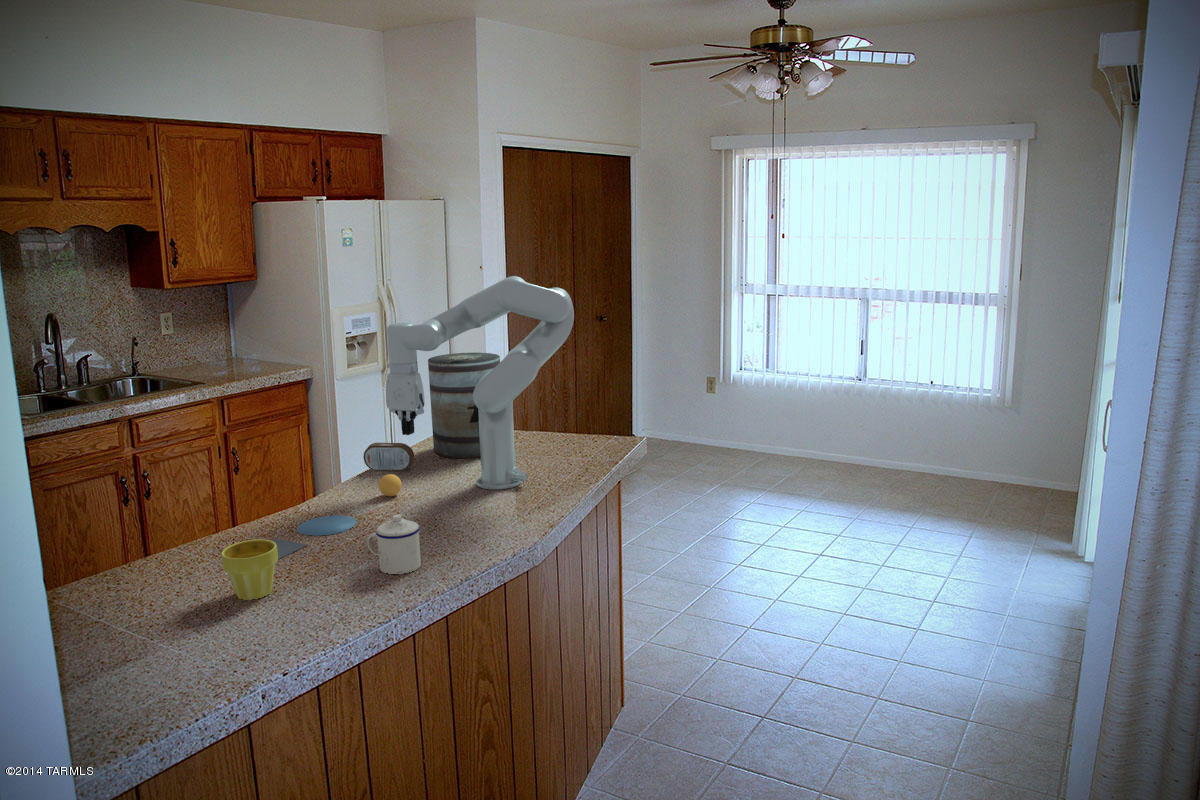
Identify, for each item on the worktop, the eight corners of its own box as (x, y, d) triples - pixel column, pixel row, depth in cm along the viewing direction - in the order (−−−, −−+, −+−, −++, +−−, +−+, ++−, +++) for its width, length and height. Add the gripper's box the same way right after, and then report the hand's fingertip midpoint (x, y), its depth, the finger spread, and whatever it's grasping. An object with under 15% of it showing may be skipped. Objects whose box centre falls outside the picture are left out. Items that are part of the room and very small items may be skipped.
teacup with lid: (429, 561, 193) (426, 510, 190) (409, 577, 184) (405, 524, 182) (380, 556, 196) (376, 506, 194) (358, 572, 188) (354, 520, 185)
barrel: (508, 455, 276) (504, 361, 270) (436, 462, 271) (429, 366, 264) (499, 438, 297) (495, 350, 291) (432, 444, 292) (426, 355, 286)
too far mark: (308, 545, 204) (307, 544, 204) (275, 560, 195) (275, 560, 195) (275, 539, 208) (275, 538, 208) (242, 554, 199) (242, 553, 199)
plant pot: (248, 609, 171) (243, 561, 169) (215, 598, 177) (209, 552, 174) (292, 589, 180) (287, 544, 178) (259, 579, 185) (254, 535, 183)
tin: (415, 469, 264) (413, 442, 262) (412, 472, 261) (410, 444, 259) (367, 469, 266) (364, 442, 264) (363, 472, 262) (361, 444, 261)
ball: (406, 493, 240) (405, 472, 239) (393, 500, 235) (391, 478, 234) (388, 491, 243) (387, 470, 242) (374, 497, 237) (373, 476, 236)
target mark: (368, 520, 220) (368, 519, 220) (329, 539, 208) (329, 538, 208) (324, 513, 226) (324, 512, 226) (284, 531, 213) (284, 530, 213)
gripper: (372, 369, 240) (377, 434, 244) (418, 372, 234) (422, 439, 238) (390, 365, 247) (394, 428, 251) (434, 367, 241) (438, 432, 244)
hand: (408, 433), depth 244 cm, fingers closed
